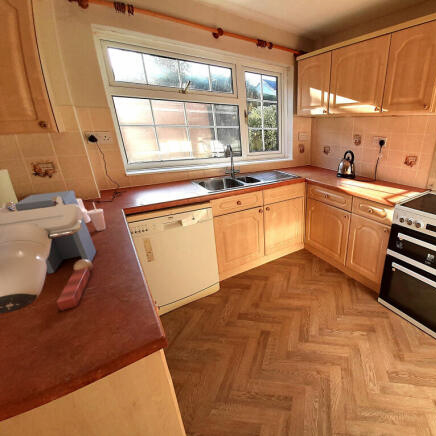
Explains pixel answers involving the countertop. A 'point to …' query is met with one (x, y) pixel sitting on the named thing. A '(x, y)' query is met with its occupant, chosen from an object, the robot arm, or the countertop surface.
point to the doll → (75, 285)
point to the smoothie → (97, 218)
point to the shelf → (62, 245)
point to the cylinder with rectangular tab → (85, 216)
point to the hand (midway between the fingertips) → (34, 201)
